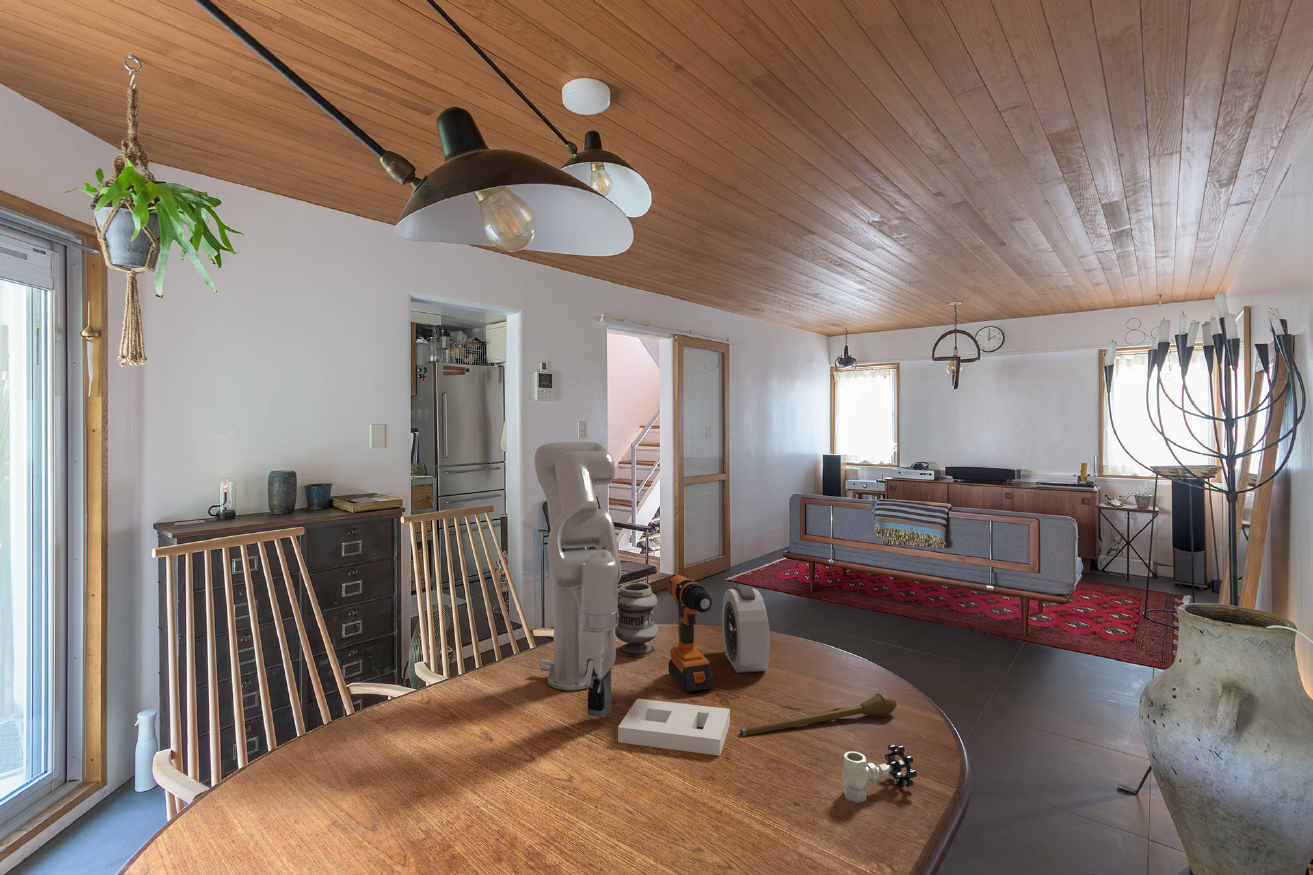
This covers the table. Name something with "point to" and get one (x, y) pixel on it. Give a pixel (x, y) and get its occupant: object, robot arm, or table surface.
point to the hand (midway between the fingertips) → (599, 703)
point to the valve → (874, 772)
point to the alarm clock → (745, 629)
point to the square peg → (604, 696)
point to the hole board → (675, 726)
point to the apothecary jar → (636, 619)
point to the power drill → (689, 636)
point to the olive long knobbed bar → (830, 715)
